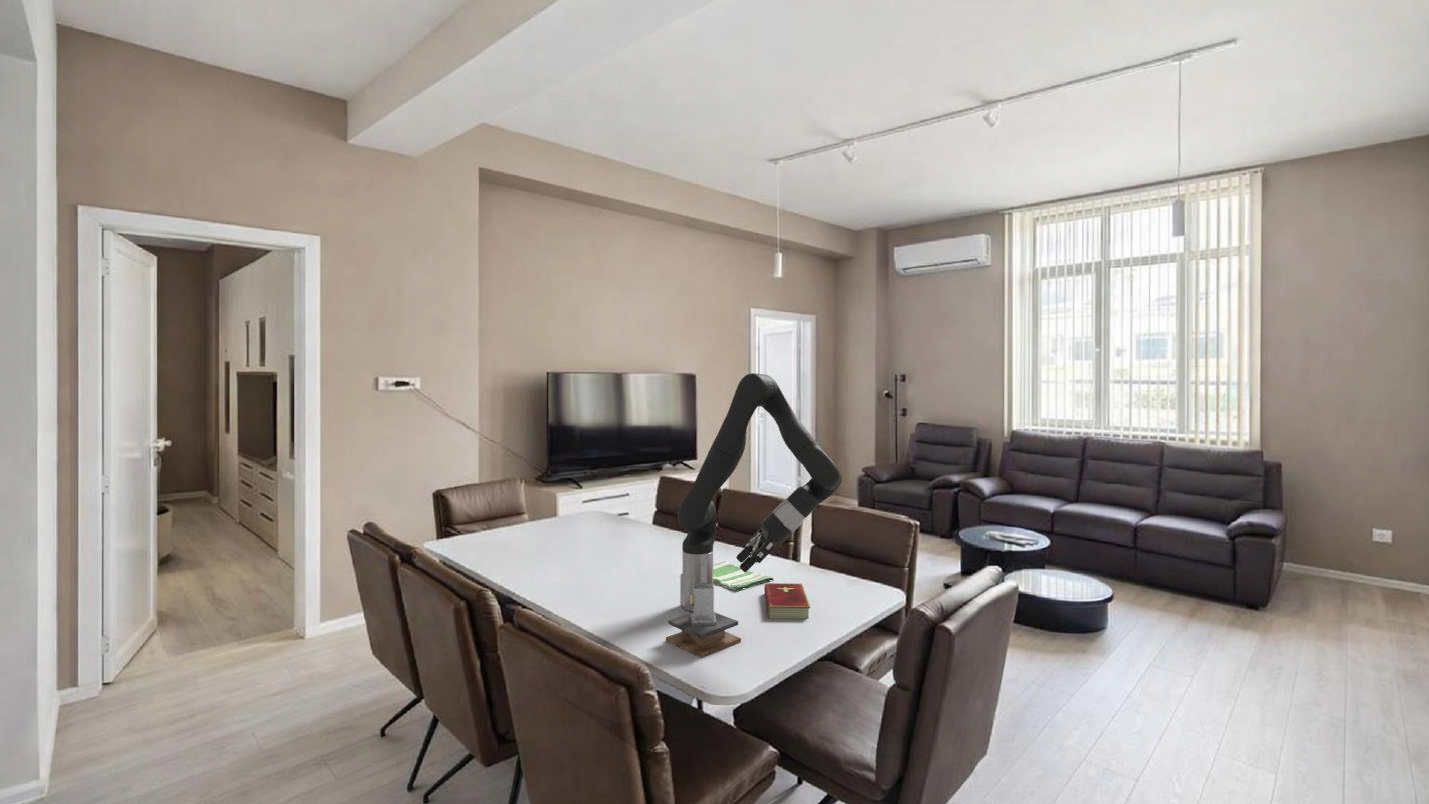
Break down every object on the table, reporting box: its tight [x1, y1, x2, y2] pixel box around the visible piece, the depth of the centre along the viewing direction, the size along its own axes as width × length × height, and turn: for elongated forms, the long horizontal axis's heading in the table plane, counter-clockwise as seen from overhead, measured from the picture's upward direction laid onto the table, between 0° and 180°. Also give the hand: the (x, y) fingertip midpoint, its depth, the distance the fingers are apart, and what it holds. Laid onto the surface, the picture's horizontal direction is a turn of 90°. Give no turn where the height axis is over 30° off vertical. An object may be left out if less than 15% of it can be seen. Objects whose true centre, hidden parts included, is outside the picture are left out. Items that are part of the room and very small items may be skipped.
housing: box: [690, 582, 717, 626], centre depth 173 cm, size 6×7×9 cm
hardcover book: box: [764, 582, 811, 619], centre depth 200 cm, size 12×21×4 cm, turn 179°
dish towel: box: [713, 560, 774, 592], centre depth 227 cm, size 18×23×3 cm
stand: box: [665, 611, 742, 658], centre depth 174 cm, size 14×14×6 cm
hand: (740, 565), depth 173 cm, fingers open, 8 cm apart
